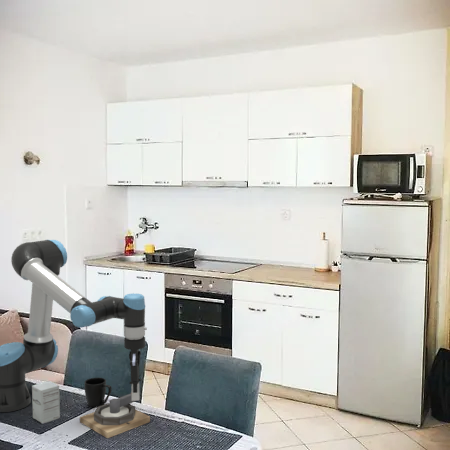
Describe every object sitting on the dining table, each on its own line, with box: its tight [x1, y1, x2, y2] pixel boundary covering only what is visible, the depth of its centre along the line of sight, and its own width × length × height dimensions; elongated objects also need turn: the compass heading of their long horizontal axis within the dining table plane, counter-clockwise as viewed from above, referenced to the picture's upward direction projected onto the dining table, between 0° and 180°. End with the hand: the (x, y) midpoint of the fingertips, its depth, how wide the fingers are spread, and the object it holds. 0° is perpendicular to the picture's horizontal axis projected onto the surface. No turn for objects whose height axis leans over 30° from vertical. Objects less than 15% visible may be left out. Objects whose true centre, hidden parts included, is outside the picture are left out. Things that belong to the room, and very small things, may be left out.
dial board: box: [79, 402, 151, 439], centre depth 198 cm, size 18×18×4 cm
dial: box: [101, 391, 136, 417], centre depth 199 cm, size 15×10×6 cm, turn 140°
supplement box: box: [31, 380, 61, 425], centre depth 201 cm, size 7×7×13 cm
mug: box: [84, 377, 113, 408], centre depth 212 cm, size 8×12×10 cm
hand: (135, 399), depth 199 cm, fingers closed
